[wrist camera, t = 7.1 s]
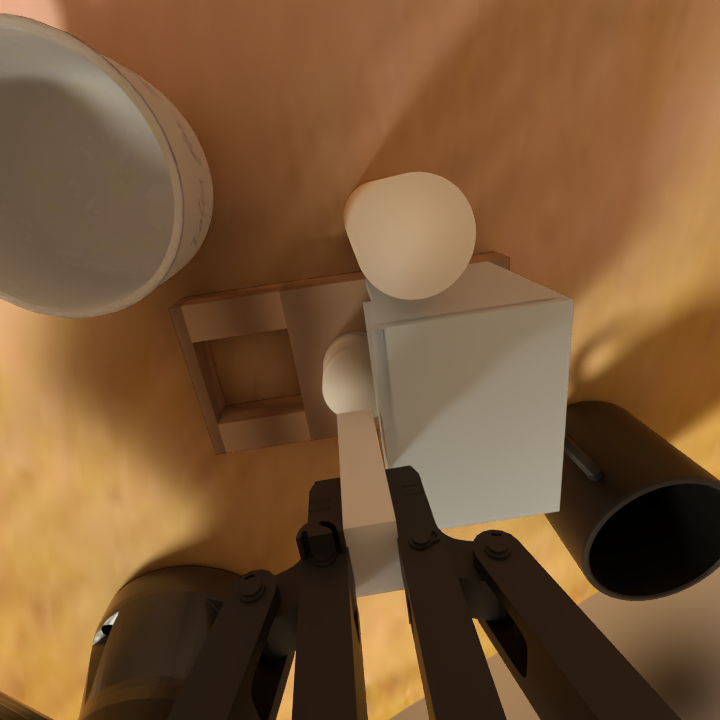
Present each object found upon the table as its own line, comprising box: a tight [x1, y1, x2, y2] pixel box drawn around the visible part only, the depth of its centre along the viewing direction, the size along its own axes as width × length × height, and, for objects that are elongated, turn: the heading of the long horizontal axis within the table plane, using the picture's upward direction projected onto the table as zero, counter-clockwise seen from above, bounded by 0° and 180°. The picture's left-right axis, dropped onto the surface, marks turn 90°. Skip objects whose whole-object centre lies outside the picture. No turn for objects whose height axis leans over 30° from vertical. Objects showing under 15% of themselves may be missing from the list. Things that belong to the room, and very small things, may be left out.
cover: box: [363, 261, 574, 530], centre depth 21 cm, size 8×10×9 cm
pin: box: [343, 172, 476, 300], centre depth 19 cm, size 4×4×12 cm
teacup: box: [0, 14, 213, 318], centre depth 19 cm, size 14×11×8 cm
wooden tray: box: [168, 252, 510, 455], centre depth 25 cm, size 20×10×6 cm, turn 97°
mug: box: [544, 401, 720, 601], centre depth 27 cm, size 9×12×9 cm
